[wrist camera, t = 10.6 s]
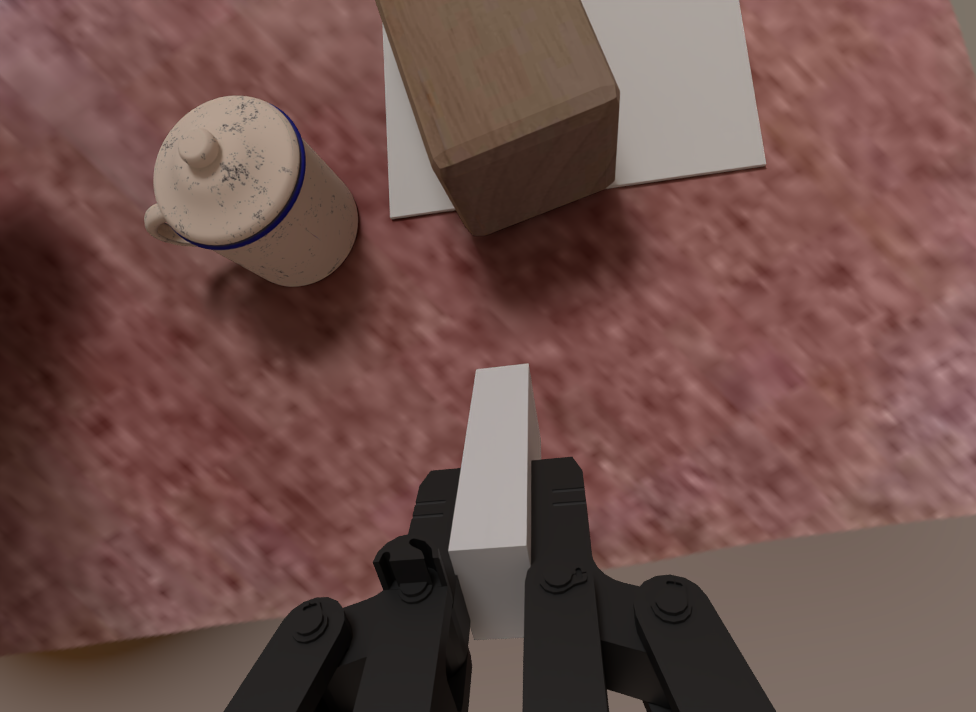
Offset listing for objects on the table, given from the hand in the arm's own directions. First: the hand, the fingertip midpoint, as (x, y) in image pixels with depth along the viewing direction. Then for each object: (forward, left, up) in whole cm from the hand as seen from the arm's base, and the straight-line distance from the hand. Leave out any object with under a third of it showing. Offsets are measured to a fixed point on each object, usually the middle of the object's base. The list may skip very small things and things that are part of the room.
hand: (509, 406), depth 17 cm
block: (+1, +14, -14) cm, 19 cm away
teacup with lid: (-18, +15, -20) cm, 31 cm away
